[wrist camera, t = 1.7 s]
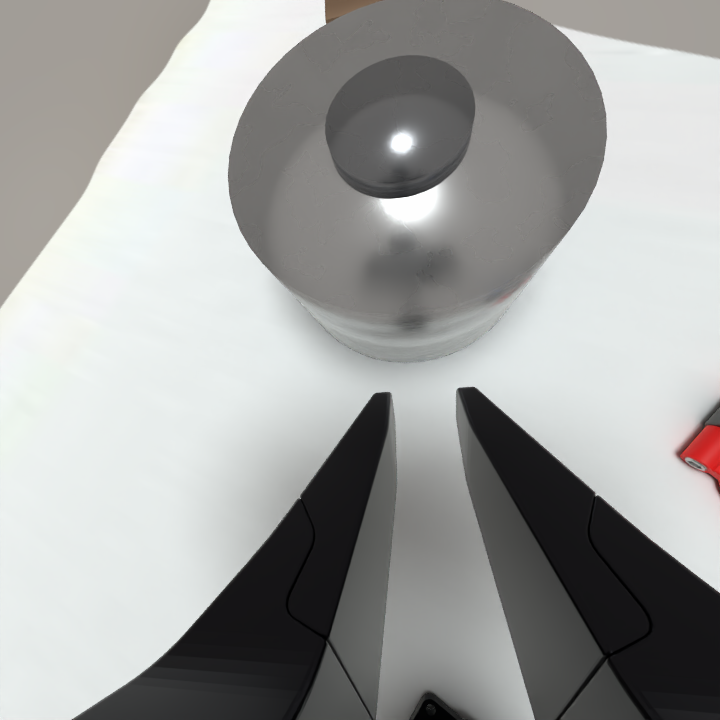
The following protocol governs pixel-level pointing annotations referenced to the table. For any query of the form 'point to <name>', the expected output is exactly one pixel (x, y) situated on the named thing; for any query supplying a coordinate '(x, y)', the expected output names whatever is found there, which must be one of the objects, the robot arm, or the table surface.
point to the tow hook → (706, 448)
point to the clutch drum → (417, 168)
